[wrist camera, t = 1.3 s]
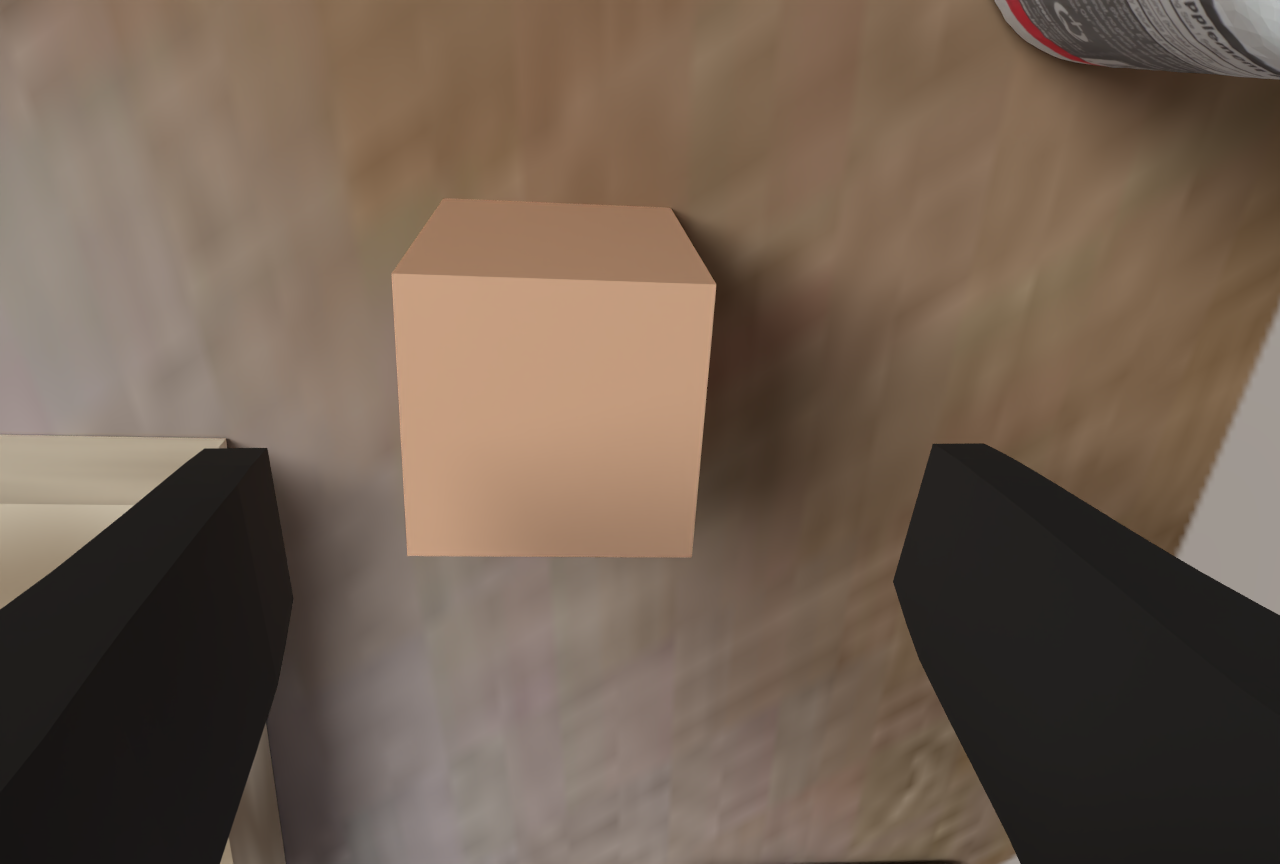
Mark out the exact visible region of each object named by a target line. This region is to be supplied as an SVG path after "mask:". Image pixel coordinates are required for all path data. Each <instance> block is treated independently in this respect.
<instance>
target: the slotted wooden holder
mask: <svg viewBox="0 0 1280 864" xmlns="http://www.w3.org/2000/svg"><path fill="white" fill-rule="evenodd" d="M204 448H227V442H226V438H166V437H107V436H47V435H0V609H1V608H3V607H4V606H6V605H7V604H8V603H10V602H11V601H12V600H14V599H15V598H16V597H18V596H19V595H20V594H22V593H23V592H25V591H26V590H27V589H29V588H30V587H31V586H33V585H34V584H35V583H37V582H38V581H40V580H41V579H42V578H44V577H45V576H46V575H48V574H49V573H50V572H52V571H53V570H54V569H56V568H57V567H58V566H60V565H61V564H62V563H63V562H65V561H66V560H67V559H68V558H69V557H71V556H72V555H73V554H74V553H76V552H77V551H78V550H79V549H81V548H82V547H83V546H84V545H86V544H87V543H88V542H89V541H91V540H92V539H93V538H94V537H96V536H97V535H98V534H99V533H101V532H102V531H103V530H104V529H106V528H107V527H108V526H109V525H111V524H112V523H113V522H114V521H115V520H117V519H118V518H119V517H120V516H122V515H123V514H124V513H125V512H127V511H128V510H129V509H130V508H131V507H133V506H134V505H135V504H136V503H137V502H139V501H140V500H141V499H142V498H143V497H145V496H146V495H147V494H148V493H149V492H151V491H152V490H153V489H154V488H155V487H157V486H158V485H159V484H160V483H161V482H163V481H164V480H165V479H166V478H168V477H169V476H170V475H171V474H172V473H174V472H175V471H176V470H177V469H179V468H180V467H181V466H182V465H183V464H185V463H186V462H187V461H188V460H190V459H191V458H192V457H194V456H195V455H196V454H198V453H199V452H200V451H202V450H203V449H204ZM220 864H286V861H285V854H284V847H283V840H282V832H281V825H280V818H279V811H278V804H277V797H276V790H275V783H274V776H273V769H272V762H271V754H270V747H269V740H268V733H267V726H266V724H265V727H264V730H263V733H262V736H261V739H260V742H259V746H258V749H257V752H256V755H255V758H254V761H253V764H252V767H251V770H250V773H249V776H248V779H247V782H246V786H245V789H244V792H243V795H242V798H241V801H240V804H239V807H238V810H237V813H236V816H235V819H234V822H233V825H232V828H231V831H230V835H229V838H228V841H227V844H226V847H225V850H224V853H223V856H222V859H221V862H220Z"/></svg>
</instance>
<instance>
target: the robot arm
mask: <svg viewBox="0 0 1280 864" xmlns="http://www.w3.org/2000/svg"><path fill="white" fill-rule="evenodd" d="M893 583H894V586H895V589H896V592H897V595H898V599H899V602H900V605H901V608H902V611H903V614H904V617H905V621H906V624H907V627H908V629H909V632H910V635H911V638H912V640H913V643H914V646H915V649H916V652H917V654H918V657H919V660H920V662H921V664H922V666H923V668H924V670H925V672H926V674H927V676H928V678H929V681H930V683H931V685H932V687H933V689H934V691H935V693H936V695H937V697H938V699H939V701H940V703H941V705H942V707H943V709H944V711H945V713H946V715H947V717H948V719H949V721H950V723H951V725H952V727H953V729H954V731H955V733H956V735H957V737H958V738H959V740H960V742H961V744H962V746H963V748H964V750H965V752H966V754H967V756H968V758H969V760H970V762H971V764H972V766H973V768H974V770H975V772H976V774H977V776H978V778H979V780H980V782H981V784H982V786H983V788H984V790H985V792H986V794H987V796H988V797H989V799H990V801H991V803H992V805H993V807H994V809H995V811H996V813H997V815H998V817H999V819H1000V821H1001V823H1002V825H1003V827H1004V829H1005V831H1006V833H1007V835H1008V837H1009V839H1010V841H1011V844H1012V846H1013V848H1014V850H1015V852H1016V854H1017V857H1018V859H1019V861H1020V863H1021V864H1280V615H1278V614H1276V613H1274V612H1272V611H1271V610H1269V609H1267V608H1265V607H1263V606H1261V605H1259V604H1258V603H1256V602H1254V601H1252V600H1250V599H1248V598H1247V597H1245V596H1243V595H1241V594H1240V593H1238V592H1236V591H1234V590H1232V589H1230V588H1229V587H1227V586H1225V585H1223V584H1222V583H1220V582H1218V581H1216V580H1214V579H1213V578H1211V577H1209V576H1207V575H1205V574H1203V573H1202V572H1200V571H1198V570H1197V569H1195V568H1193V567H1192V566H1190V565H1188V564H1186V563H1185V562H1183V561H1181V560H1180V559H1178V558H1176V557H1174V556H1173V555H1171V554H1169V553H1168V552H1166V551H1164V550H1163V549H1161V548H1159V547H1158V546H1156V545H1154V544H1153V543H1151V542H1149V541H1148V540H1146V539H1144V538H1143V537H1141V536H1139V535H1138V534H1136V533H1135V532H1133V531H1131V530H1130V529H1128V528H1126V527H1125V526H1123V525H1121V524H1120V523H1118V522H1117V521H1115V520H1113V519H1112V518H1110V517H1108V516H1107V515H1105V514H1104V513H1102V512H1100V511H1099V510H1097V509H1095V508H1094V507H1092V506H1091V505H1089V504H1087V503H1086V502H1084V501H1083V500H1081V499H1079V498H1078V497H1076V496H1074V495H1073V494H1071V493H1070V492H1068V491H1066V490H1065V489H1063V488H1061V487H1060V486H1058V485H1057V484H1055V483H1053V482H1052V481H1050V480H1048V479H1047V478H1045V477H1043V476H1042V475H1040V474H1038V473H1037V472H1035V471H1033V470H1032V469H1030V468H1028V467H1027V466H1025V465H1023V464H1021V463H1020V462H1018V461H1016V460H1014V459H1013V458H1011V457H1009V456H1007V455H1005V454H1003V453H1002V452H1000V451H998V450H996V449H994V448H992V447H990V446H988V445H985V444H933V445H932V449H931V452H930V456H929V459H928V463H927V466H926V470H925V473H924V476H923V480H922V483H921V487H920V490H919V494H918V497H917V501H916V504H915V508H914V511H913V515H912V518H911V521H910V525H909V528H908V532H907V535H906V539H905V542H904V546H903V549H902V553H901V556H900V560H899V563H898V566H897V570H896V573H895V577H894V580H893ZM292 603H293V594H292V589H291V583H290V577H289V571H288V566H287V560H286V554H285V548H284V543H283V537H282V531H281V525H280V519H279V514H278V508H277V502H276V496H275V491H274V485H273V479H272V473H271V467H270V462H269V456H268V450H267V448H204V449H203V450H202V451H200V452H199V453H198V454H196V455H195V456H194V457H192V458H191V459H190V460H188V461H187V462H186V463H185V464H183V465H182V466H181V467H180V468H179V469H177V470H176V471H175V472H174V473H172V474H171V475H170V476H169V477H168V478H166V479H165V480H164V481H163V482H161V483H160V484H159V485H158V486H157V487H155V488H154V489H153V490H152V491H151V492H149V493H148V494H147V495H146V496H145V497H143V498H142V499H141V500H140V501H139V502H137V503H136V504H135V505H134V506H133V507H131V508H130V509H129V510H128V511H127V512H125V513H124V514H123V515H122V516H120V517H119V518H118V519H117V520H115V521H114V522H113V523H112V524H111V525H109V526H108V527H107V528H106V529H104V530H103V531H102V532H101V533H99V534H98V535H97V536H96V537H94V538H93V539H92V540H91V541H89V542H88V543H87V544H86V545H84V546H83V547H82V548H81V549H79V550H78V551H77V552H76V553H74V554H73V555H72V556H71V557H69V558H68V559H67V560H66V561H65V562H63V563H62V564H61V565H60V566H58V567H57V568H56V569H54V570H53V571H52V572H50V573H49V574H48V575H46V576H45V577H44V578H42V579H41V580H40V581H38V582H37V583H35V584H34V585H33V586H31V587H30V588H29V589H27V590H26V591H25V592H23V593H22V594H20V595H19V596H18V597H16V598H15V599H14V600H12V601H11V602H10V603H8V604H7V605H6V606H4V607H3V608H1V609H0V864H220V862H221V859H222V856H223V853H224V850H225V847H226V844H227V841H228V838H229V835H230V831H231V828H232V825H233V822H234V819H235V816H236V813H237V810H238V807H239V804H240V801H241V798H242V795H243V792H244V789H245V786H246V782H247V779H248V776H249V773H250V770H251V767H252V764H253V761H254V758H255V755H256V752H257V749H258V746H259V742H260V739H261V736H262V733H263V730H264V727H265V724H266V720H267V717H268V714H269V711H270V708H271V705H272V701H273V698H274V695H275V692H276V688H277V685H278V680H279V675H280V670H281V665H282V660H283V654H284V649H285V644H286V638H287V632H288V626H289V621H290V615H291V609H292Z"/></svg>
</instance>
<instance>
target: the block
mask: <svg viewBox="0 0 1280 864" xmlns="http://www.w3.org/2000/svg"><path fill="white" fill-rule="evenodd" d="M392 289H393V307H394V324H395V342H396V360H397V378H398V396H399V414H400V431H401V449H402V467H403V485H404V503H405V520H406V538H407V556H516V557H692V549H693V538H694V527H695V516H696V505H697V494H698V482H699V471H700V460H701V449H702V438H703V427H704V416H705V405H706V394H707V383H708V372H709V361H710V350H711V339H712V327H713V316H714V305H715V294H716V283H715V281H714V280H713V278H712V276H711V275H710V273H709V271H708V270H707V268H706V266H705V265H704V263H703V261H702V260H701V258H700V256H699V255H698V253H697V251H696V250H695V248H694V246H693V244H692V243H691V241H690V239H689V238H688V236H687V234H686V233H685V231H684V229H683V228H682V226H681V224H680V223H679V221H678V219H677V218H676V216H675V214H674V213H673V211H672V209H671V208H665V207H641V206H617V205H593V204H569V203H545V202H521V201H497V200H473V199H449V198H443V200H442V201H441V202H440V204H439V205H438V207H437V208H436V210H435V211H434V213H433V214H432V216H431V217H430V218H429V220H428V221H427V223H426V224H425V226H424V227H423V229H422V230H421V232H420V233H419V234H418V236H417V237H416V239H415V240H414V242H413V243H412V245H411V246H410V248H409V249H408V250H407V252H406V253H405V255H404V256H403V258H402V259H401V261H400V262H399V264H398V265H397V266H396V268H395V269H394V271H393V272H392Z"/></svg>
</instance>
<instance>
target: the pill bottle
mask: <svg viewBox="0 0 1280 864" xmlns="http://www.w3.org/2000/svg"><path fill="white" fill-rule="evenodd" d="M994 1H995V3H996V5H997V6H998V8H999V9H1000V11H1001V12H1002V15H1003V17H1004V19H1005V20H1006V22H1007V23H1008V24H1009V25H1010V26H1011V27H1012V28H1013V29H1014V30H1015V32H1016V33H1017V34H1019V35H1020V36H1021V37H1022V38H1023V39H1024V40H1025V41H1027V42H1028V43H1030V44H1032V45H1034V46H1035V47H1037V48H1038V49H1040V50H1042V51H1044V52H1046V53H1048V54H1050V55H1052V56H1054V57H1057V58H1059V59H1063V60H1067V61H1072V62H1076V63H1083V64H1092V65H1098V66H1107V67H1112V68H1133V69H1143V70H1162V71H1173V72H1186V73H1204V74H1219V75H1228V76H1237V77H1252V78H1263V79H1279V80H1280V0H994Z"/></svg>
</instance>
